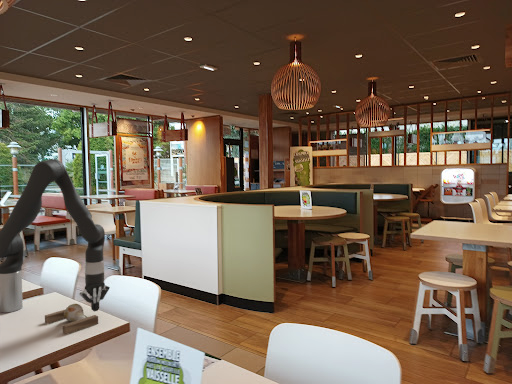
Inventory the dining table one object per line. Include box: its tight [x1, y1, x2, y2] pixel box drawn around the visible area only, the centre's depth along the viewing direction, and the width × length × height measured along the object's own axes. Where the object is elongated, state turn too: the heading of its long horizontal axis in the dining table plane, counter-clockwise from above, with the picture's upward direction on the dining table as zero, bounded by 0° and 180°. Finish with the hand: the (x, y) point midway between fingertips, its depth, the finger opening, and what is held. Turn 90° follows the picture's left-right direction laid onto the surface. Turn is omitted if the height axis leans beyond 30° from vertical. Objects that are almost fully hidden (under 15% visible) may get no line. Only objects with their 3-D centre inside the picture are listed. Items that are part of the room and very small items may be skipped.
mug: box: [64, 303, 88, 323], centre depth 152 cm, size 8×10×10 cm
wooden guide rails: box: [44, 309, 99, 335], centre depth 150 cm, size 18×13×3 cm
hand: (95, 310), depth 159 cm, fingers closed
